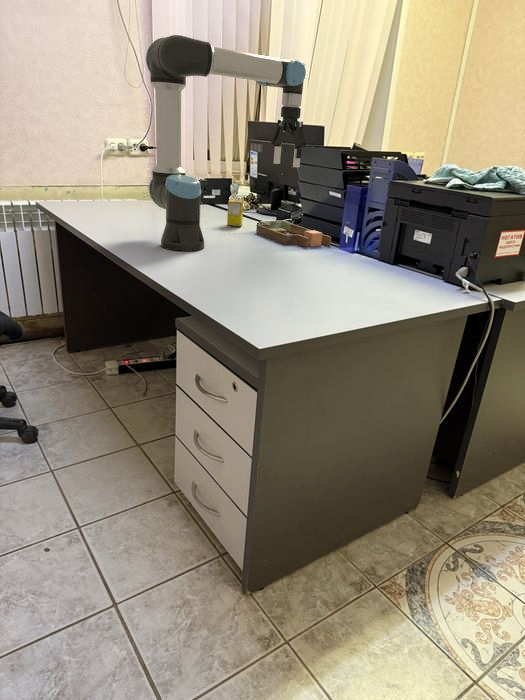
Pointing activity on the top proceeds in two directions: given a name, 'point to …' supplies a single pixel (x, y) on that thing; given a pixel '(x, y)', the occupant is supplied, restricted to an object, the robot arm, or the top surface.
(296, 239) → the trap lane
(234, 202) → the supplement box
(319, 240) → the terracotta block
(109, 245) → the top surface
